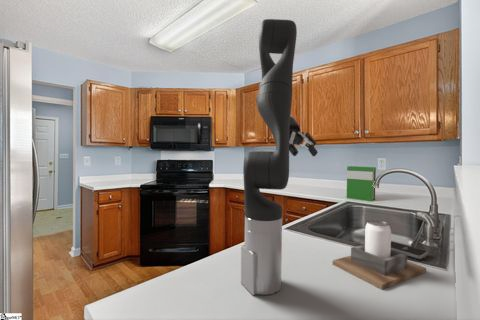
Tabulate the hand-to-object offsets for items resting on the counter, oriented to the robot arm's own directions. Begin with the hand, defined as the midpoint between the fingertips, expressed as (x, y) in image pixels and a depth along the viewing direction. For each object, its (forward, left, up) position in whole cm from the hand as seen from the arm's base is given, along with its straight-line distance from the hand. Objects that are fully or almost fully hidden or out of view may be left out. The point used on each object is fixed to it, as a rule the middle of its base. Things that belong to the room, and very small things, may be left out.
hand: (306, 154), depth 82 cm
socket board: (+10, -20, -33) cm, 39 cm away
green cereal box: (+105, +56, -33) cm, 124 cm away
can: (+10, -19, -32) cm, 38 cm away
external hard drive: (+29, -17, -33) cm, 47 cm away
